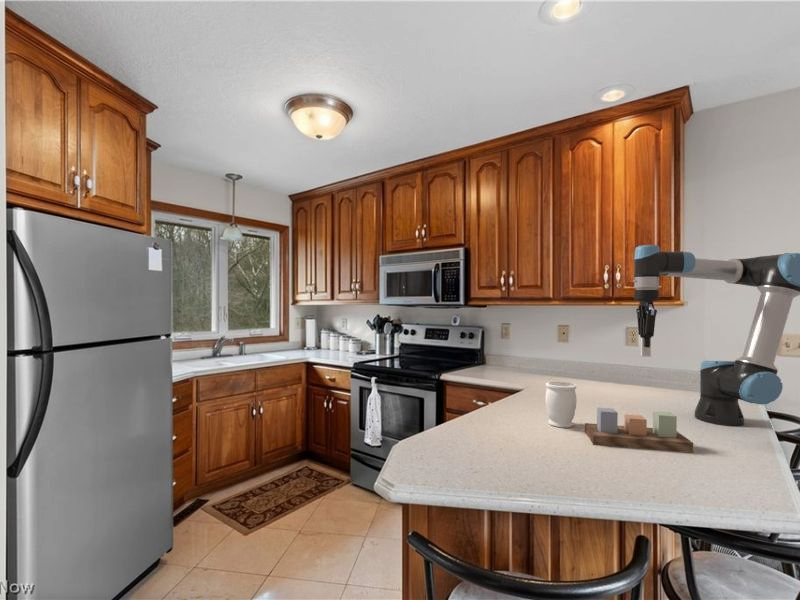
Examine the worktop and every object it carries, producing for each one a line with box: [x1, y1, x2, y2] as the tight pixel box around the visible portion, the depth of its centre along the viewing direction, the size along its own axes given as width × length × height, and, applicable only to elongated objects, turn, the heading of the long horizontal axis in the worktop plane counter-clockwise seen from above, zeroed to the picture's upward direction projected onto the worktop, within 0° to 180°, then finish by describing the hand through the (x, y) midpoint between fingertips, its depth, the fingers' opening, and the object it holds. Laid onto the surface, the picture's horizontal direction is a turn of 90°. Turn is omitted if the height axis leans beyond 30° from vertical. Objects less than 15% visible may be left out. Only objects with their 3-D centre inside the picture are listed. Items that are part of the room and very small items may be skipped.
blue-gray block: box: [596, 407, 619, 434], centre depth 136 cm, size 5×5×8 cm
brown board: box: [584, 422, 694, 454], centre depth 134 cm, size 28×13×3 cm, turn 77°
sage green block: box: [652, 410, 678, 438], centre depth 132 cm, size 5×5×8 cm
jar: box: [545, 381, 577, 429], centre depth 151 cm, size 11×10×15 cm
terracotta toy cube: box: [623, 413, 648, 436], centre depth 134 cm, size 5×5×8 cm
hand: (645, 356), depth 145 cm, fingers closed
